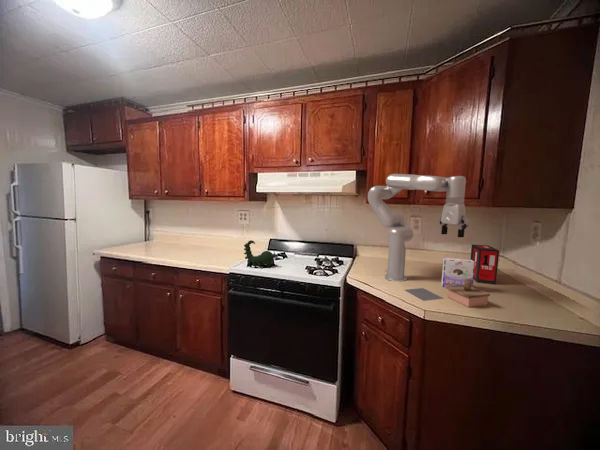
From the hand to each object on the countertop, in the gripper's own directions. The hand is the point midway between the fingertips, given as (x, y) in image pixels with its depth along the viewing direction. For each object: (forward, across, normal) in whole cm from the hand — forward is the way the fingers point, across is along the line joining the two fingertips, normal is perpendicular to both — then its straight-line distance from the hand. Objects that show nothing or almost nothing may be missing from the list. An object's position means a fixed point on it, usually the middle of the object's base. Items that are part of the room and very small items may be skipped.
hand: (452, 235), depth 121 cm
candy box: (+31, -5, +11) cm, 33 cm away
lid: (+25, +11, 0) cm, 28 cm away
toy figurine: (+31, -72, -89) cm, 119 cm away
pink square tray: (+30, +11, 0) cm, 32 cm away
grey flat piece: (+30, -1, -14) cm, 33 cm away
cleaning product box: (+31, -14, +40) cm, 53 cm away
